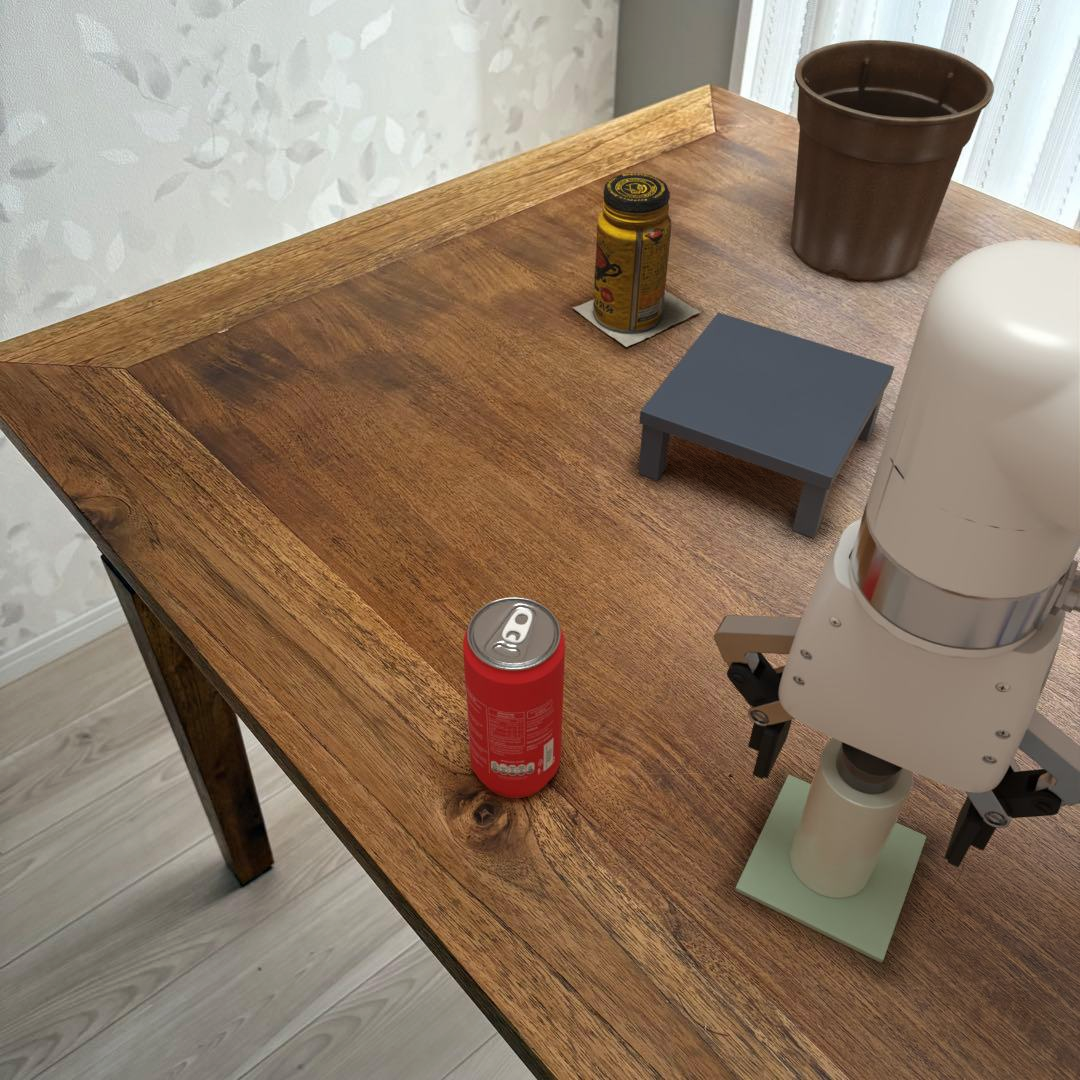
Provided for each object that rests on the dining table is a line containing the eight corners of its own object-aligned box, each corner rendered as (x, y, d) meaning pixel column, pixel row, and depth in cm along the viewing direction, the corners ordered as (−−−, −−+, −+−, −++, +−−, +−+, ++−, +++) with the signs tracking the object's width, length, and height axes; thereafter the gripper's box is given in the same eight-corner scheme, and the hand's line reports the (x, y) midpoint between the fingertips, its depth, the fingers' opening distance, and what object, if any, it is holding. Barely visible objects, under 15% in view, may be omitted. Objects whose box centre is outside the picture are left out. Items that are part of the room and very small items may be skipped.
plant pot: (732, 227, 107) (757, 58, 95) (864, 189, 112) (902, 25, 101) (840, 313, 97) (882, 135, 85) (979, 267, 102) (1036, 94, 91)
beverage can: (456, 788, 63) (445, 655, 55) (490, 717, 66) (485, 582, 58) (542, 816, 62) (544, 685, 53) (572, 743, 65) (579, 608, 57)
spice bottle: (882, 846, 60) (933, 734, 53) (857, 913, 58) (907, 804, 50) (805, 810, 62) (844, 696, 54) (777, 874, 59) (813, 763, 52)
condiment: (572, 309, 97) (576, 181, 88) (645, 278, 100) (657, 152, 92) (626, 349, 93) (636, 219, 84) (700, 315, 96) (717, 187, 88)
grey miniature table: (876, 429, 86) (894, 366, 81) (815, 541, 77) (832, 477, 73) (708, 374, 90) (718, 311, 86) (633, 474, 82) (640, 410, 78)
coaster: (925, 839, 61) (927, 835, 61) (881, 963, 56) (883, 960, 56) (787, 777, 64) (788, 773, 63) (734, 890, 59) (735, 887, 59)
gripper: (1207, 578, 42) (1056, 815, 54) (777, 433, 48) (728, 676, 60) (1181, 720, 38) (1022, 944, 50) (709, 541, 43) (670, 780, 56)
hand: (861, 797), depth 55 cm, fingers open, 9 cm apart
